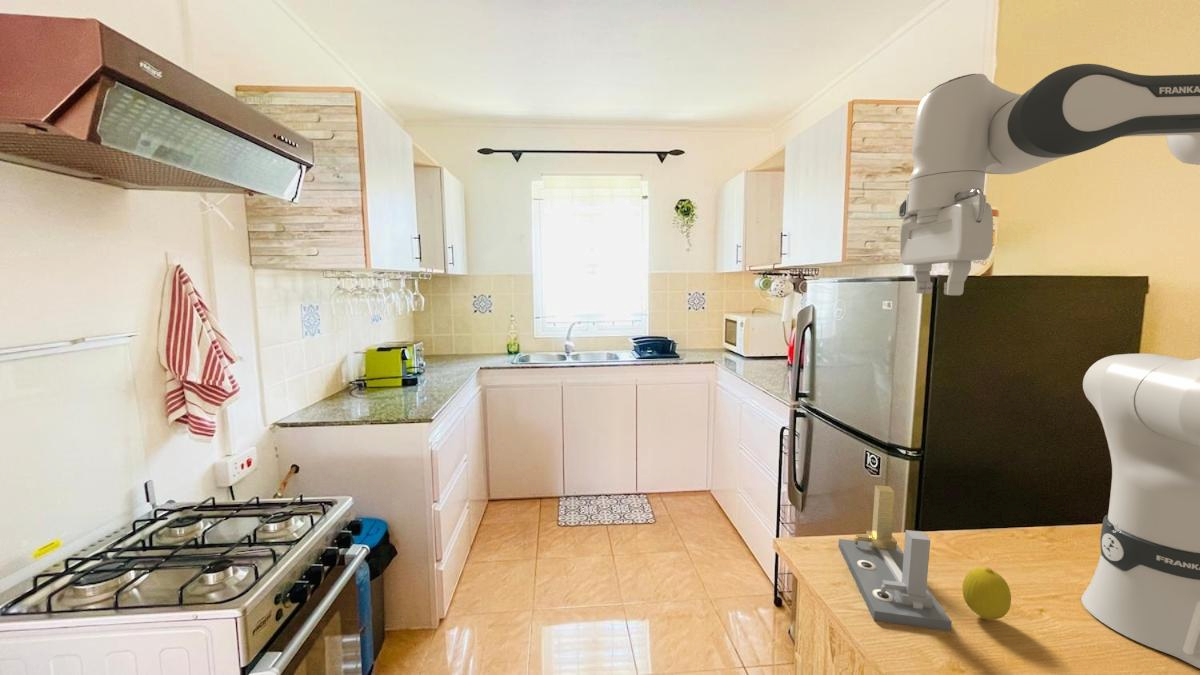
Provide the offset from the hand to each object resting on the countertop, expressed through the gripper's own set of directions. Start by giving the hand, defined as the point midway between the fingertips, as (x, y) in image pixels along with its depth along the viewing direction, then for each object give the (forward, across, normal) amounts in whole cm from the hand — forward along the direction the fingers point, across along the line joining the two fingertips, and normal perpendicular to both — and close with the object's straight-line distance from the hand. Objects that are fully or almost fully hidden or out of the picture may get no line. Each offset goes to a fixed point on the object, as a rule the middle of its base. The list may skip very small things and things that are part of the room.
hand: (937, 294), depth 70 cm
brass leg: (+46, +10, +3) cm, 47 cm away
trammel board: (+48, +2, +3) cm, 48 cm away
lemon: (+48, -4, -8) cm, 49 cm away
